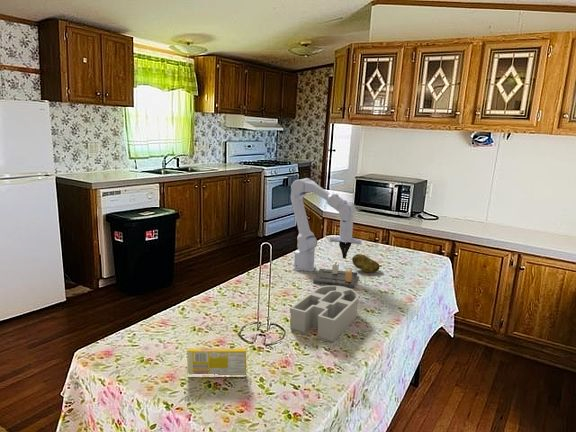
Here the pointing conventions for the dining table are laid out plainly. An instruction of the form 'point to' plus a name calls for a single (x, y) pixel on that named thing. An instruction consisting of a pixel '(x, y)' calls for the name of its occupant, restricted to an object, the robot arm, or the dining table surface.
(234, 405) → the dining table surface
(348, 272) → the fader near
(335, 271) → the fader far
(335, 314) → the grey compartment organizer
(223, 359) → the candy box
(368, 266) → the potato
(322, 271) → the console
